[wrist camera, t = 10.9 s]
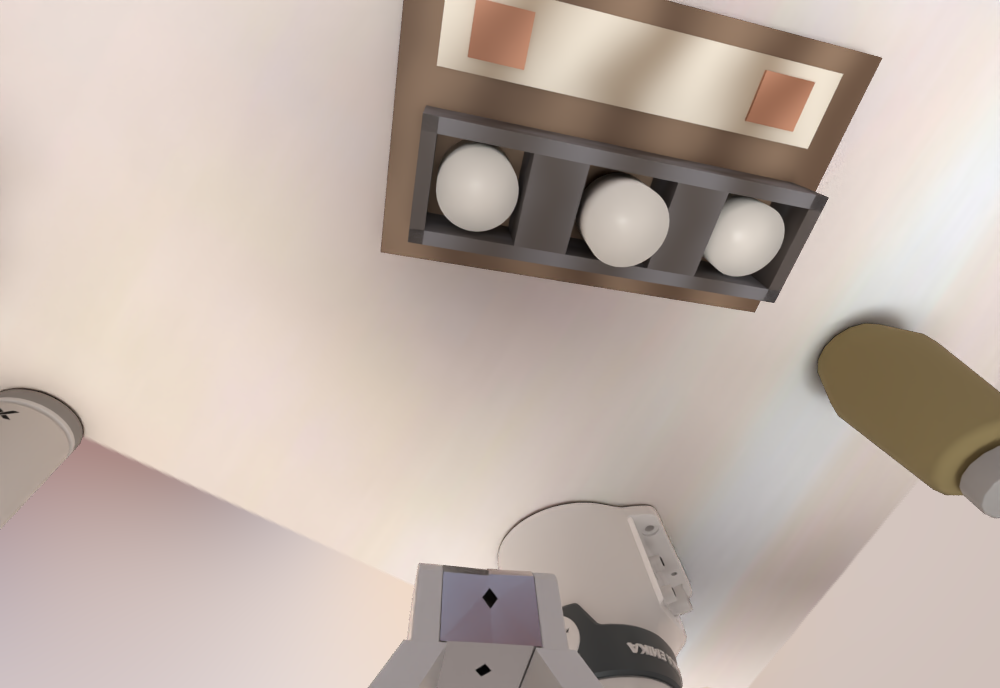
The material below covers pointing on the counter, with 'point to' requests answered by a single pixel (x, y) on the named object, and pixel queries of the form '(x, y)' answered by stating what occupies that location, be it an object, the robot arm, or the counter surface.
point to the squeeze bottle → (918, 408)
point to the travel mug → (31, 444)
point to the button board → (615, 132)
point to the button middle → (622, 219)
